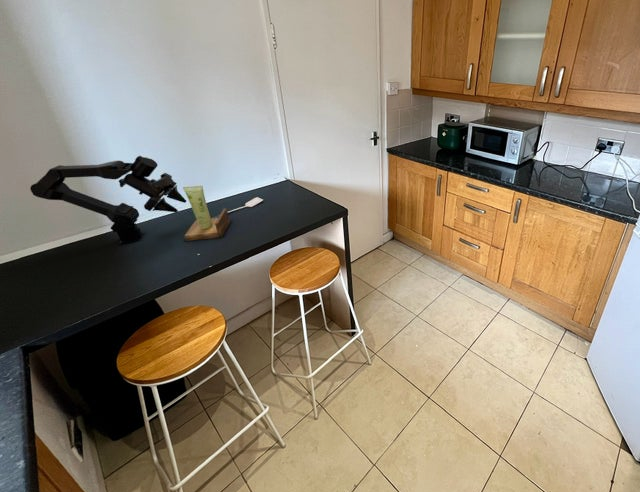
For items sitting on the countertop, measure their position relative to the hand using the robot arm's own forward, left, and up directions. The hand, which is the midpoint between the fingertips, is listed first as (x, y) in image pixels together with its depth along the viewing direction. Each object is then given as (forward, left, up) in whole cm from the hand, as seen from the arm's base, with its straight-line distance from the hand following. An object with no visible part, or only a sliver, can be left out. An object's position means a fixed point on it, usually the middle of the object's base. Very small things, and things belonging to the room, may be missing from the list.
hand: (181, 206), depth 133 cm
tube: (+7, -2, -11) cm, 13 cm away
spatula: (+17, +15, -13) cm, 26 cm away
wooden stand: (+7, -1, -13) cm, 15 cm away
